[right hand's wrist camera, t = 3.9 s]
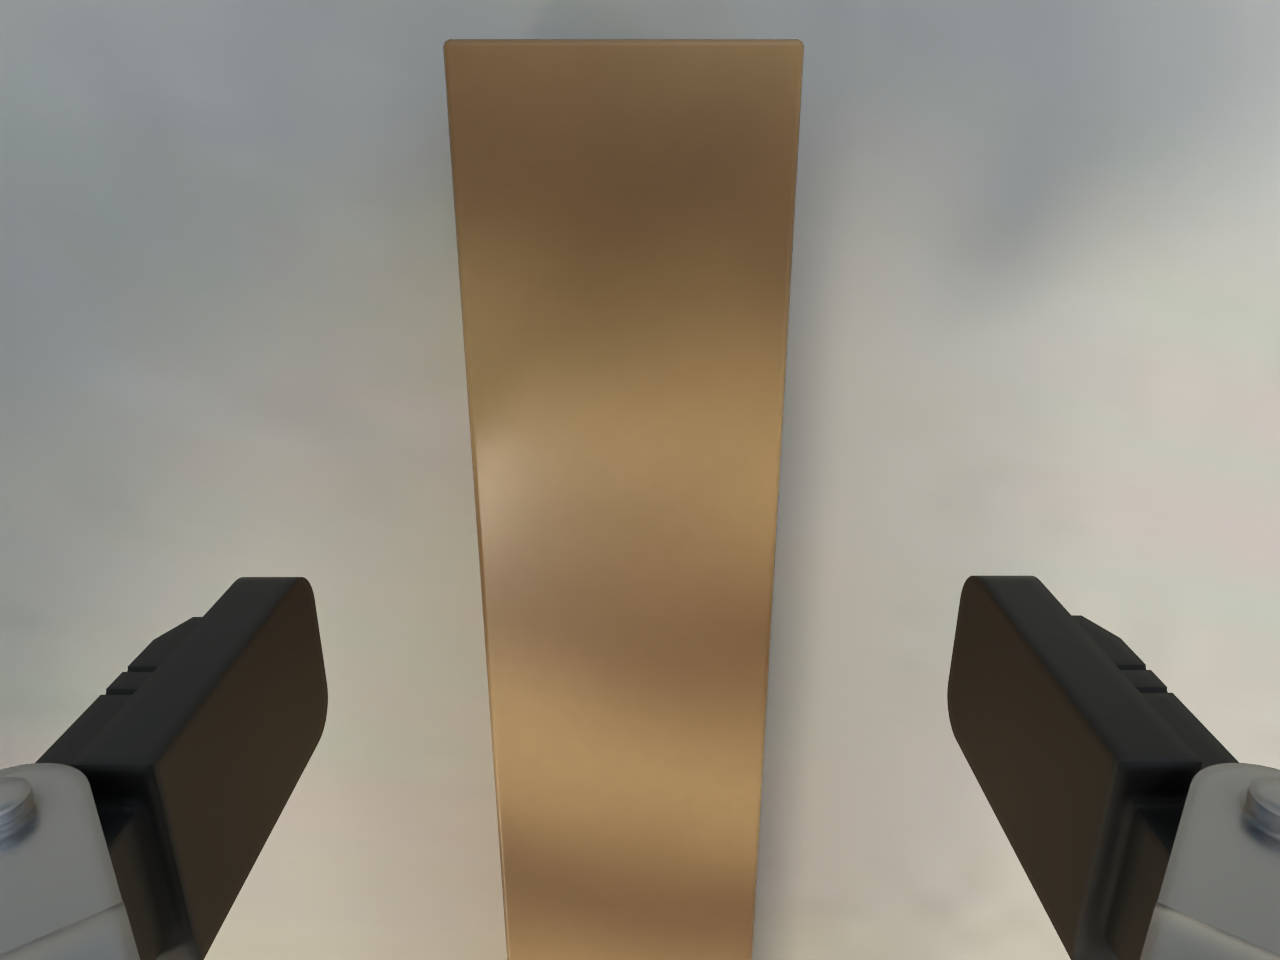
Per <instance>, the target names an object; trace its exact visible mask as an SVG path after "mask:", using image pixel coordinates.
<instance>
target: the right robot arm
mask: <svg viewBox="0 0 1280 960" xmlns="http://www.w3.org/2000/svg"><path fill="white" fill-rule="evenodd" d="M327 705H328V690H327V681H326V675H325V668H324V661H323V654H322V647H321V640H320V633H319V627H318V620H317V613H316V606H315V599H314V594H313V590H312V587H311V585H310V583H309V582H308V580H307V579H306V578H303V577H241V578H239V579H237V580H236V581H235V582H234V583H233V584H232V585H231V587H230V588H229V589H228V590H227V591H226V592H225V593H224V594H223V595H222V596H221V598H220V599H219V600H218V601H217V602H216V603H215V604H214V605H213V606H212V608H211V609H210V610H209V611H208V612H207V613H206V614H205V615H204V616H203V617H192V618H191V619H189V620H187V621H186V622H184V623H182V624H180V625H179V626H177V627H175V628H173V629H172V630H170V631H168V632H167V633H165V634H163V635H161V636H160V637H158V638H156V639H154V640H153V641H152V642H151V643H150V644H149V645H148V646H147V647H146V648H145V649H144V651H143V652H142V653H141V654H140V655H139V656H138V657H137V658H136V659H135V660H134V661H133V662H132V663H131V664H130V665H129V666H128V671H127V672H122V673H121V674H120V675H119V676H118V678H117V679H116V680H115V681H114V682H113V683H112V684H111V685H110V686H109V687H108V688H107V689H106V695H100V696H99V697H98V698H97V699H96V700H95V701H94V702H93V703H92V705H91V706H90V707H89V708H88V709H87V710H86V711H85V712H84V713H83V714H82V715H81V716H80V717H79V718H78V719H77V720H76V721H75V722H74V723H73V724H72V725H71V726H70V727H69V728H68V729H67V730H66V732H65V733H64V734H63V735H62V736H61V737H60V738H59V739H58V740H57V741H56V742H55V743H54V744H53V745H52V746H51V747H50V748H49V749H48V750H47V751H46V752H45V753H44V754H43V755H42V756H41V758H40V759H39V760H38V761H37V762H36V763H34V764H25V765H19V766H14V767H10V768H5V769H2V770H0V960H204V958H205V956H206V954H207V952H208V950H209V948H210V947H211V945H212V943H213V941H214V939H215V937H216V935H217V933H218V931H219V929H220V928H221V926H222V924H223V922H224V920H225V918H226V916H227V914H228V912H229V911H230V909H231V907H232V905H233V903H234V901H235V899H236V897H237V895H238V894H239V892H240V890H241V888H242V886H243V884H244V882H245V880H246V878H247V877H248V875H249V873H250V871H251V869H252V867H253V865H254V863H255V861H256V860H257V858H258V856H259V854H260V852H261V850H262V848H263V846H264V844H265V843H266V841H267V839H268V837H269V835H270V833H271V831H272V829H273V827H274V826H275V824H276V822H277V820H278V818H279V816H280V814H281V812H282V810H283V809H284V807H285V805H286V803H287V801H288V799H289V797H290V795H291V793H292V792H293V790H294V788H295V786H296V784H297V782H298V780H299V778H300V776H301V775H302V773H303V771H304V769H305V767H306V765H307V763H308V761H309V759H310V757H311V756H312V754H313V752H314V750H315V748H316V746H317V744H318V742H319V740H320V738H321V736H322V733H323V729H324V726H325V721H326V715H327ZM948 711H949V718H950V723H951V727H952V730H953V733H954V736H955V738H956V740H957V742H958V744H959V746H960V748H961V750H962V752H963V754H964V756H965V757H966V759H967V761H968V763H969V765H970V767H971V769H972V771H973V773H974V775H975V777H976V779H977V780H978V782H979V784H980V786H981V788H982V790H983V792H984V794H985V796H986V798H987V800H988V802H989V803H990V805H991V807H992V809H993V811H994V813H995V815H996V817H997V819H998V821H999V823H1000V824H1001V826H1002V828H1003V830H1004V832H1005V834H1006V836H1007V838H1008V840H1009V842H1010V844H1011V846H1012V847H1013V849H1014V851H1015V853H1016V855H1017V857H1018V859H1019V861H1020V863H1021V865H1022V867H1023V868H1024V870H1025V872H1026V874H1027V876H1028V878H1029V880H1030V882H1031V884H1032V886H1033V888H1034V890H1035V891H1036V893H1037V895H1038V897H1039V899H1040V901H1041V903H1042V905H1043V907H1044V909H1045V911H1046V912H1047V914H1048V916H1049V918H1050V920H1051V922H1052V924H1053V926H1054V928H1055V930H1056V932H1057V934H1058V935H1059V937H1060V939H1061V941H1062V943H1063V945H1064V947H1065V949H1066V951H1067V953H1068V955H1069V956H1070V958H1071V960H1280V770H1278V769H1275V768H1270V767H1266V766H1261V765H1255V764H1246V763H1239V762H1238V761H1237V760H1236V759H1235V758H1234V757H1233V756H1232V755H1231V754H1230V753H1229V752H1228V751H1227V750H1226V748H1225V747H1224V746H1223V745H1222V744H1221V743H1220V742H1219V741H1218V740H1217V739H1216V738H1215V737H1214V736H1213V735H1212V734H1211V733H1210V732H1209V731H1208V730H1207V729H1206V728H1205V726H1204V725H1203V724H1202V723H1201V722H1200V721H1199V720H1198V719H1197V718H1196V717H1195V716H1194V715H1193V714H1192V713H1191V712H1190V711H1189V710H1188V709H1187V708H1186V707H1185V706H1184V704H1183V703H1182V702H1181V701H1180V700H1179V699H1178V698H1177V697H1176V696H1175V695H1174V694H1173V693H1168V692H1167V687H1166V686H1165V685H1164V683H1163V682H1162V681H1161V680H1160V679H1159V678H1158V677H1157V676H1156V675H1155V674H1154V673H1153V672H1152V671H1151V670H1146V665H1145V664H1144V663H1143V661H1142V660H1141V659H1140V658H1139V657H1138V656H1137V655H1136V654H1135V653H1134V652H1133V651H1132V650H1131V649H1130V648H1129V647H1128V646H1127V645H1126V644H1125V643H1124V642H1123V641H1122V639H1121V638H1119V637H1117V636H1116V635H1114V634H1112V633H1110V632H1109V631H1107V630H1105V629H1104V628H1102V627H1100V626H1098V625H1097V624H1095V623H1093V622H1092V621H1090V620H1088V619H1086V618H1085V617H1083V616H1071V615H1070V614H1069V612H1068V611H1067V610H1066V609H1065V608H1064V607H1063V606H1062V605H1061V604H1060V602H1059V601H1058V600H1057V599H1056V598H1055V597H1054V596H1053V595H1052V594H1051V592H1050V591H1049V590H1048V589H1047V588H1046V587H1045V586H1044V585H1043V583H1042V582H1041V581H1040V580H1039V579H1038V578H1036V577H1034V576H970V577H969V578H968V579H967V580H966V582H965V584H964V586H963V589H962V593H961V598H960V605H959V612H958V619H957V626H956V633H955V640H954V647H953V654H952V661H951V668H950V675H949V682H948Z"/></svg>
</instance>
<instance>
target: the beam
mask: <svg viewBox="0 0 1280 960" xmlns="http://www.w3.org/2000/svg"><path fill="white" fill-rule="evenodd" d="M443 50H444V64H445V78H446V92H447V107H448V121H449V135H450V149H451V164H452V178H453V192H454V206H455V220H456V235H457V249H458V263H459V277H460V291H461V306H462V320H463V334H464V348H465V362H466V377H467V391H468V405H469V419H470V433H471V448H472V462H473V476H474V490H475V504H476V519H477V533H478V547H479V561H480V576H481V590H482V604H483V618H484V632H485V647H486V661H487V675H488V689H489V703H490V718H491V732H492V746H493V760H494V774H495V789H496V803H497V817H498V831H499V845H500V860H501V874H502V888H503V902H504V916H505V931H506V945H507V959H508V960H752V951H753V933H754V916H755V898H756V881H757V863H758V846H759V828H760V810H761V793H762V775H763V758H764V740H765V723H766V705H767V687H768V670H769V652H770V635H771V617H772V600H773V582H774V564H775V547H776V529H777V512H778V494H779V476H780V459H781V441H782V424H783V406H784V389H785V371H786V353H787V336H788V318H789V301H790V283H791V266H792V248H793V230H794V213H795V195H796V178H797V160H798V143H799V125H800V107H801V90H802V72H803V55H804V46H803V42H802V41H800V40H798V39H449V40H447V41H445V43H444V46H443Z"/></svg>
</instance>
